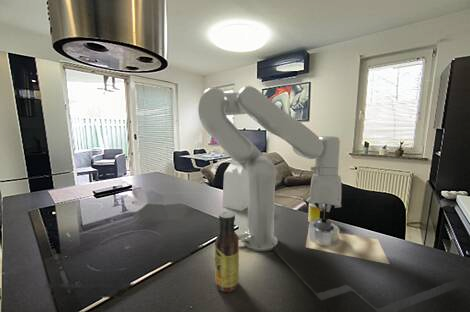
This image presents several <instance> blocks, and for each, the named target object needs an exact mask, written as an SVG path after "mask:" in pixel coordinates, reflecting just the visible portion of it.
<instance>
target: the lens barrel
mask: <svg viewBox="0 0 470 312" xmlns="http://www.w3.org/2000/svg"><path fill="white" fill-rule="evenodd" d="M308 230H309V232H307V236H308V237H309V240H310V241H311V242H313V243H314V244H317V245H320V246H324V247H333V246H337V244H338V243H339V233H340V227H338V225H336V224H334V223H332V222H331V230H330V231H325V230H320V229H317V228H316V221H312V222H309V223H308Z"/></svg>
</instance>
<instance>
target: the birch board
mask: <svg viewBox="0 0 470 312" xmlns="http://www.w3.org/2000/svg"><path fill="white" fill-rule="evenodd" d="M307 231H308V232H309V229H307ZM308 232H307V233H308ZM305 248H308V249H312V250H317V251H322V252H327V253H331V254H336V255H341V256H347V257H352V258H356V259H361V260H367V261H370V262H376V263H381V264H387V265H390V261H389V259H388V257H387V255H386V254H385V251H384V249H383V247H382V245H381V242H380V241H379V239H378V238H373V237H372V238H371V237H366V236H359V235H353V234H348V233H342V232H339V243H338V244H337V246H333V247H324V246H320V245H317V244H314V243H313V242H311V241H310V240H309V237H308V235H307V236H306V241H305Z"/></svg>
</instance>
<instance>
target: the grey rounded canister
mask: <svg viewBox="0 0 470 312" xmlns="http://www.w3.org/2000/svg"><path fill="white" fill-rule="evenodd" d="M331 223H332V221H331V220H330V219H329V220H326V223H325V222H322V219H320V218H318V219H316V228H317V229H320V230H325V231H330V230H331Z"/></svg>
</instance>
